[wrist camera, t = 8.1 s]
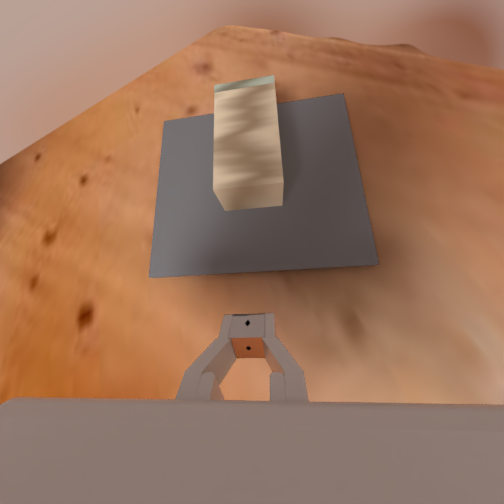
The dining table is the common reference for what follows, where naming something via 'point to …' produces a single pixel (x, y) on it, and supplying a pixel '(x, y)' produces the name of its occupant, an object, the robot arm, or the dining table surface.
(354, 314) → the dining table surface
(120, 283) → the dining table surface
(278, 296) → the dining table surface
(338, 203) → the rubber mat
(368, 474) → the robot arm
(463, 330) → the dining table surface
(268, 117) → the birch block
